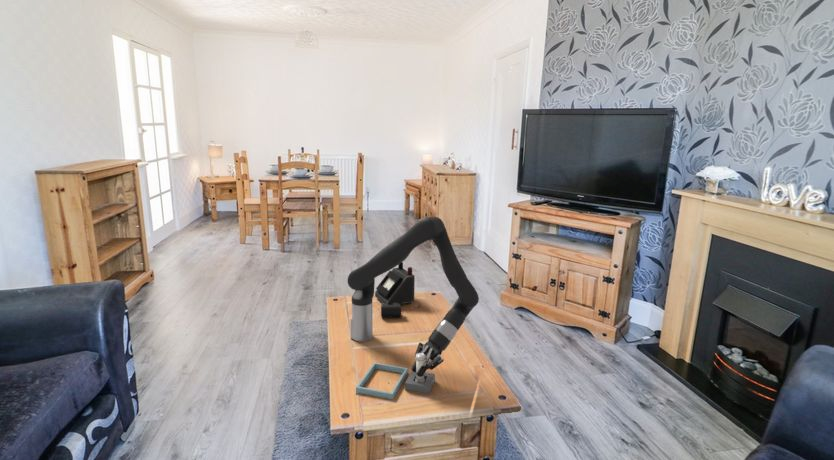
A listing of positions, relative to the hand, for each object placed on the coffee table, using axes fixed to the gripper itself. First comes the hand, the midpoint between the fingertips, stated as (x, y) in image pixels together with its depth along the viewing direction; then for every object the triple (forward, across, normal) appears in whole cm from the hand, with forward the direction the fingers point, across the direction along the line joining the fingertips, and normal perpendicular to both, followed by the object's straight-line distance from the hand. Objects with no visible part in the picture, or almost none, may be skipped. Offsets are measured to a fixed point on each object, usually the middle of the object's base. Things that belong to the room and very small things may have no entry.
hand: (415, 373), depth 163 cm
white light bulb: (+2, 0, +5) cm, 5 cm away
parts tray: (+11, -9, -1) cm, 14 cm away
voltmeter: (-21, -76, +32) cm, 85 cm away
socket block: (+3, 0, +6) cm, 7 cm away
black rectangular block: (-12, -60, +23) cm, 65 cm away
